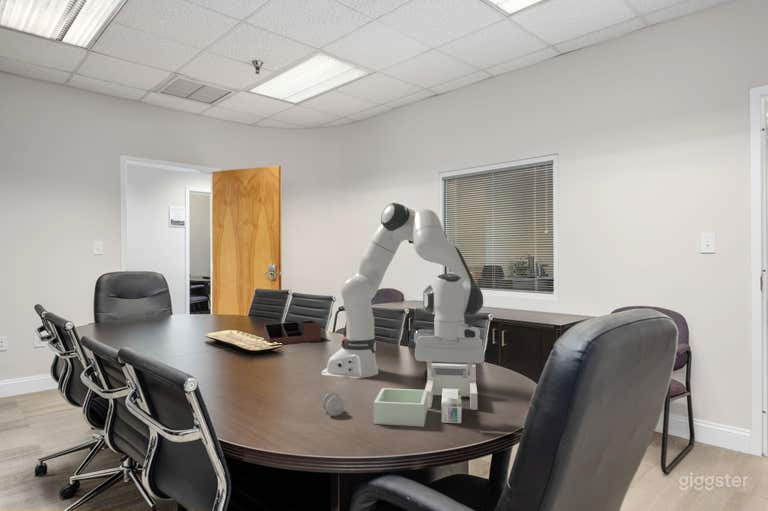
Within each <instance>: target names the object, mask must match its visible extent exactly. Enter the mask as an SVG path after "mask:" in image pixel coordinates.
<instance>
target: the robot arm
mask: <svg viewBox="0 0 768 511" xmlns="http://www.w3.org/2000/svg"><path fill="white" fill-rule="evenodd" d="M380 223H381V224H380V225H379V226H378V228H377V229H376V230H375V232H374V234H373V235H372V237H371V238H370V240H369V242H368V244H367V246H366V247H365V250H364V251H363V254H362V256H361V258H360V262H359V265H358V268H357V269H356V270H357V271H356V273H355V274H354V276H351V277H349V278H347V279H346V280H345V281H344V282H343V284H342V286H341V288H340V290H341V291H340V295H341V297H342V300H343V306H344V308H343V309H344V312H345V319H346V320H345V325H346V326H345V328H346V329H345V330H346V332H345V333H346V335H345V337H344V338H342V340H341V341H340V345H341V348H340V349H338V350H337V351H336V352H335V353H334V354H332V355H331V356H330V357H329V359H328V361H327V366H326V368H324V369H323V370H322V371H321V375H322V376H327V377H335V378H345V379H351V380H358V379H364V378H369V377H374V376H376V375H378V374H379V370H378V365H377V360H376V351H377V350H376V349H377V342H376V337H375V317H374V314H373V306H372V300H373V298H374V297H375V296H376V294H377V292H378V290H379V288H380V286H381V284H382V282H383V279H384V277H385V274H386V272H387V270H388V267H389V266H390V264H391V262H392V260H393V259H394V256H395V255H396V253H397V251H398V249H399V247H400V245H401V243H403V242H404V241H408V244H413V247H414V250H415V252H416V254H417V255H418V256H419V257H420V258H421V259H422V260H424V261H426V262H430V263H434V264H438V265H441V266H444V267H446V268H448V269H449V270H451V272H452V273H453V274H452V273H442V274H439V275H436V277H435V282H434V283H433V284H429V285H428V286H427V287H426V288H425V289H424V291H422V292H423V294H422V295H423V303H422V304H423V309H425V311H426V312H427V313H428V314H431V315H434V320H433V325H434V327H433V328H432V329H431V328H428V329H424V328H421V329H420V328H419V329H418V330H416V331H415V332H414V333H413V342H414V344H415V349H414V358H415V360H416V361H417V362H426V366H428V368H429V370H430V371H431V377H436V370H434V369H433V368H432V366H431V364H432V363H433V362H434V363H436V362H437V363H457V364H467V366H468V368H467V370H466V371H463V378H468V372H469V371H470V369H471V368H472V364H483V363H484V362H485V348H484V345H483V341H482V338H481V333H480V332H481V331H480V328H478V327H476V326H473V325H470V324H466V323H465V316H469V317H470V316H471V317H473V316H475V315H476V314H477V313H479V311H480V310H481V309H482V307H483V306H484V295H483V292H482V290H481V288H480V287H479V284H477V283H476V281H475V278H474V277H473V275H472V273H471V271H470V269H469V267H468V265H467V263H466V261H465V258H464V257H463V255H462V252H461V251H460V249H459V247H457V246H455V245H453V243H451V242H450V241H449V240H448V238H447V237H446V236H445V232H444V228H443V226H442V223H441V220H440V218H439V216H438V215H437V213H436V212H435V211H434V210H431V209H422V210H419V211H417V210H414V209H411V208H409V207H407V206H405V205H403V204H401V203H398V202H392V203H389V204H388V205H387V206H385V208H384V209H383V211H382V213H381V217H380Z"/></svg>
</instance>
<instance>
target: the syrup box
mask: <svg viewBox="0 0 768 511" xmlns="http://www.w3.org/2000/svg"><path fill="white" fill-rule="evenodd" d="M462 404H463V403H462V396H461V389H442V395H441V409H440V410H441V411H440V412H441V413H440V418H441V423H446V424H462V411H463V410H462Z"/></svg>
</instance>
